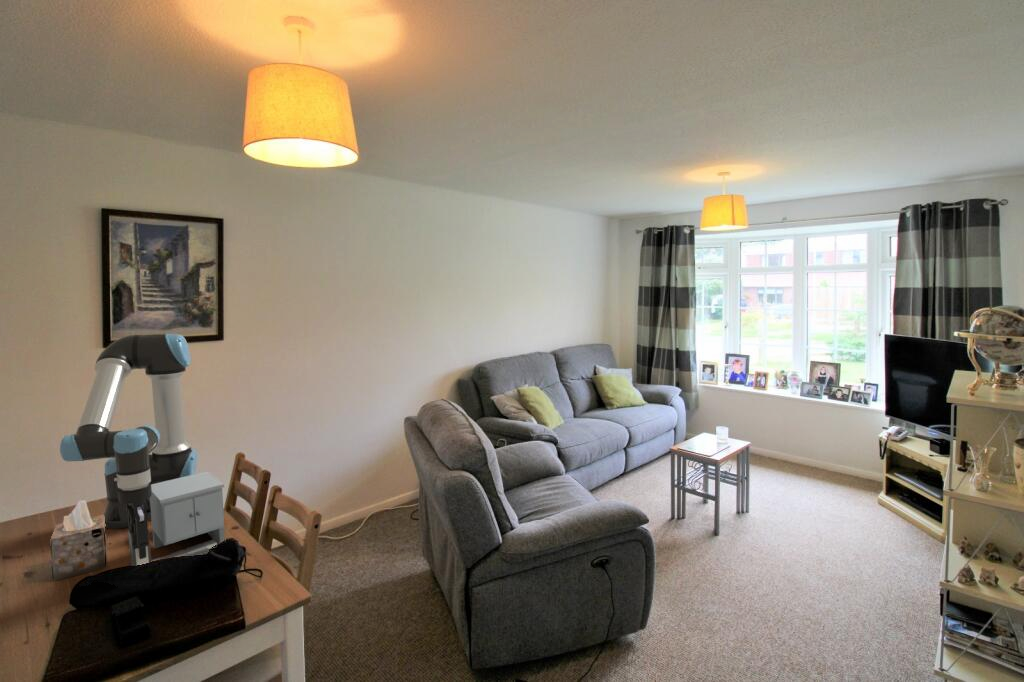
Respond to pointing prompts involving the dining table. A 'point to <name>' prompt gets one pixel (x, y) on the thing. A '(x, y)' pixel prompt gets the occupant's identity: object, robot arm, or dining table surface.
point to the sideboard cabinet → (187, 509)
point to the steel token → (199, 552)
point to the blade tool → (176, 554)
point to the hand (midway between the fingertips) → (141, 564)
